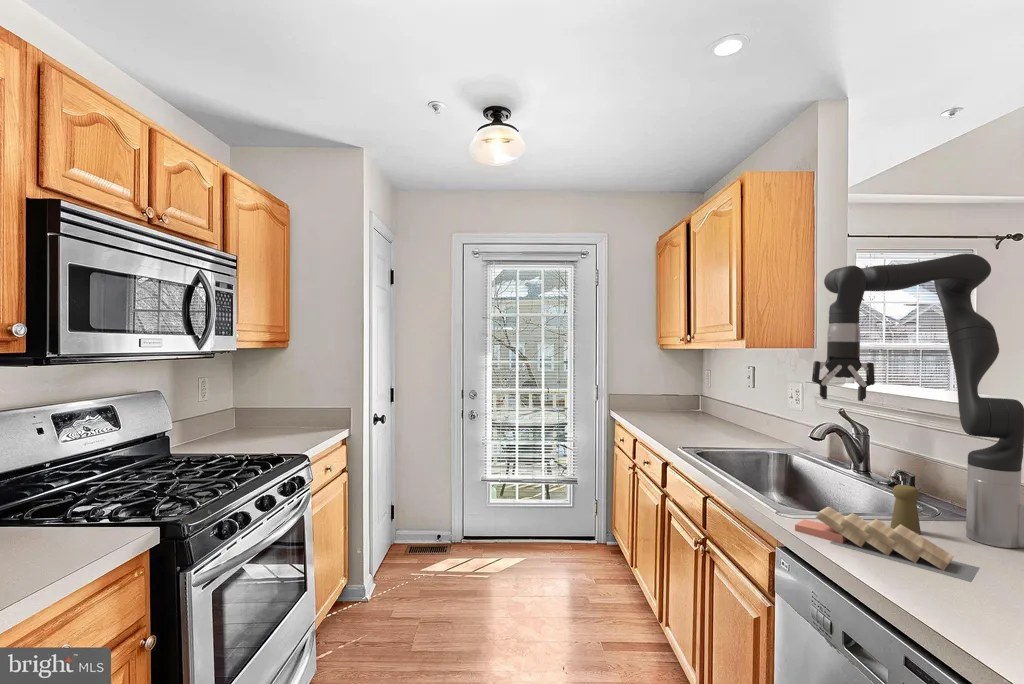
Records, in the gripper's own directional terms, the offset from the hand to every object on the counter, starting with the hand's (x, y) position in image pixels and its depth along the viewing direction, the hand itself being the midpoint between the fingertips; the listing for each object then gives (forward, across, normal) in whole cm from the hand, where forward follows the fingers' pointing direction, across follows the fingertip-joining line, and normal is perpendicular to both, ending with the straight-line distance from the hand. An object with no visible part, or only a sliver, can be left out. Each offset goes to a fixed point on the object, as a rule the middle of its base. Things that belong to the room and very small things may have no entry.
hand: (842, 399), depth 142 cm
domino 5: (+29, -11, +35) cm, 47 cm away
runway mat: (+30, -4, +31) cm, 43 cm away
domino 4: (+29, -7, +33) cm, 44 cm away
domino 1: (+29, +5, +26) cm, 39 cm away
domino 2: (+29, +1, +28) cm, 40 cm away
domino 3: (+29, -3, +30) cm, 42 cm away
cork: (+30, -11, +12) cm, 34 cm away
